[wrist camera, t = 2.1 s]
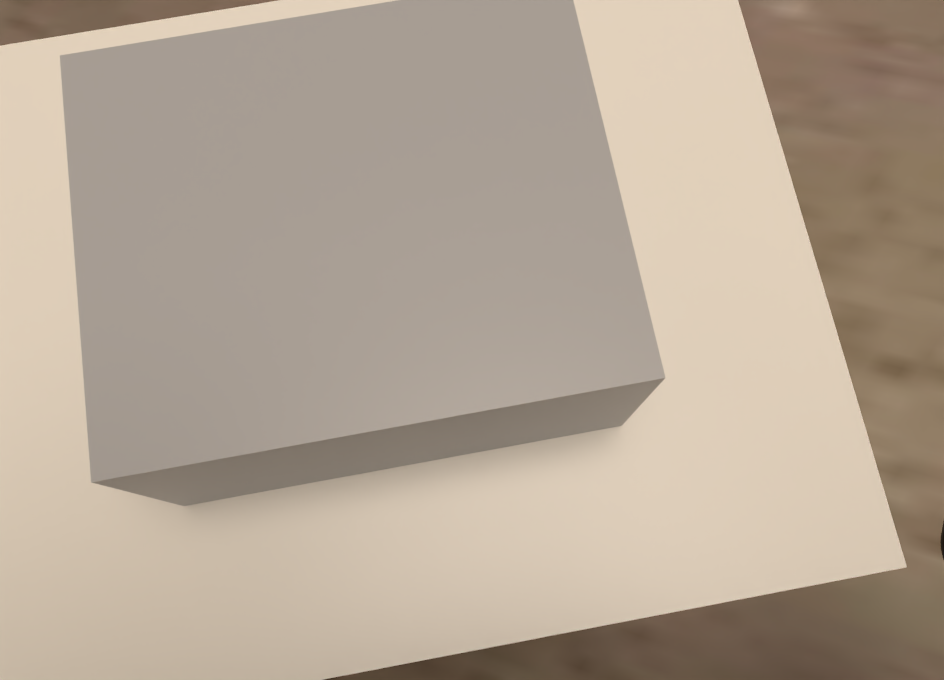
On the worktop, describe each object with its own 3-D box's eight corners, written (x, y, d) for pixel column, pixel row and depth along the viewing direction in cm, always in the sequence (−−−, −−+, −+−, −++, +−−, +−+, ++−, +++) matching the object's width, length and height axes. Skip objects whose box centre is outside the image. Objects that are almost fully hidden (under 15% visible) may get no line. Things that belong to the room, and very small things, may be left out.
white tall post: (599, 577, 17) (1042, 562, 4) (333, 628, 17) (-239, 811, 3) (555, 371, 18) (775, -236, 5) (303, 417, 18) (-221, -80, 4)
